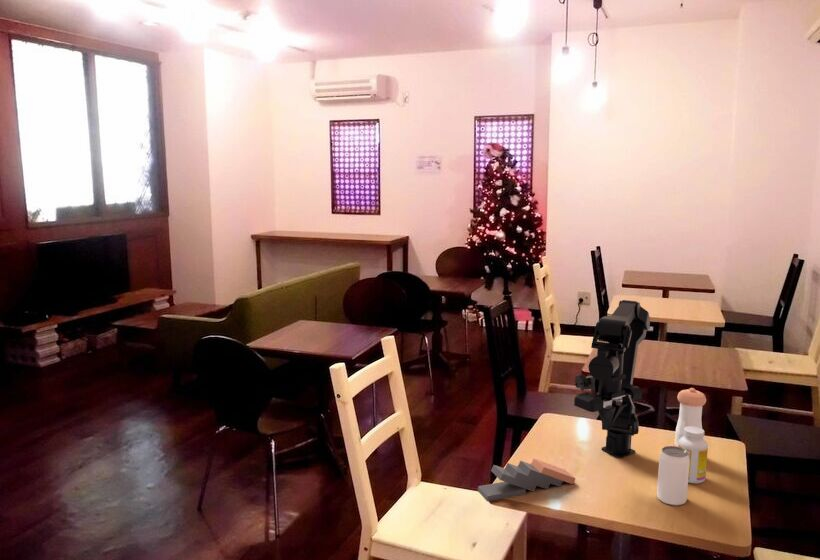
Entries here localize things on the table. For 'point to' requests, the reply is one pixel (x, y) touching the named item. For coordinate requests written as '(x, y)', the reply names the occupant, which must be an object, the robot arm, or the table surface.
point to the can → (673, 476)
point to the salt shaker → (689, 411)
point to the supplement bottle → (695, 453)
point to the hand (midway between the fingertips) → (606, 429)
